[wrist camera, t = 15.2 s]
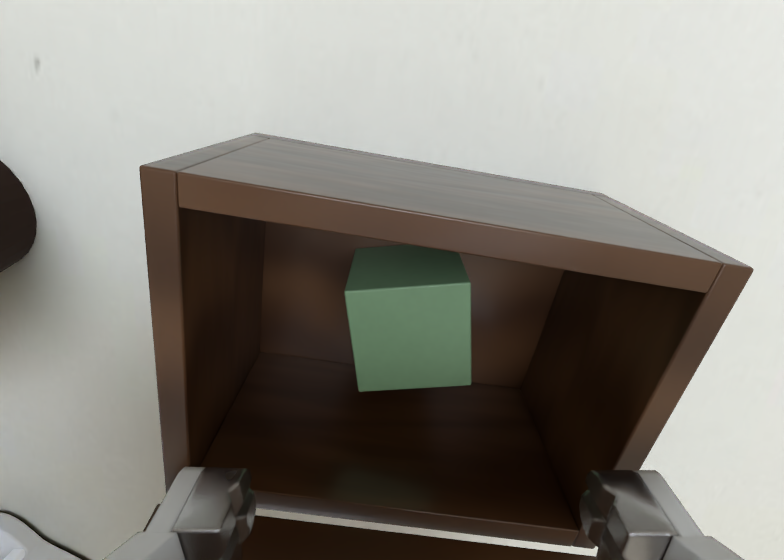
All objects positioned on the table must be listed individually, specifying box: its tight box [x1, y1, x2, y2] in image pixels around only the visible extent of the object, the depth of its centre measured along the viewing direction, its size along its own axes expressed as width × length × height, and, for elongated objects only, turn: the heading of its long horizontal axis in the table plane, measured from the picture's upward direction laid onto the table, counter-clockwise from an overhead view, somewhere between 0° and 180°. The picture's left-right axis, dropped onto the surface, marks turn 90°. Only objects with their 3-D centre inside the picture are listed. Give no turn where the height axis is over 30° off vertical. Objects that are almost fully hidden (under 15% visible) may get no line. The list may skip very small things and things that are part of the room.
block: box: [344, 245, 471, 392], centre depth 18 cm, size 5×5×5 cm
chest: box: [140, 133, 753, 549], centre depth 17 cm, size 12×16×9 cm
